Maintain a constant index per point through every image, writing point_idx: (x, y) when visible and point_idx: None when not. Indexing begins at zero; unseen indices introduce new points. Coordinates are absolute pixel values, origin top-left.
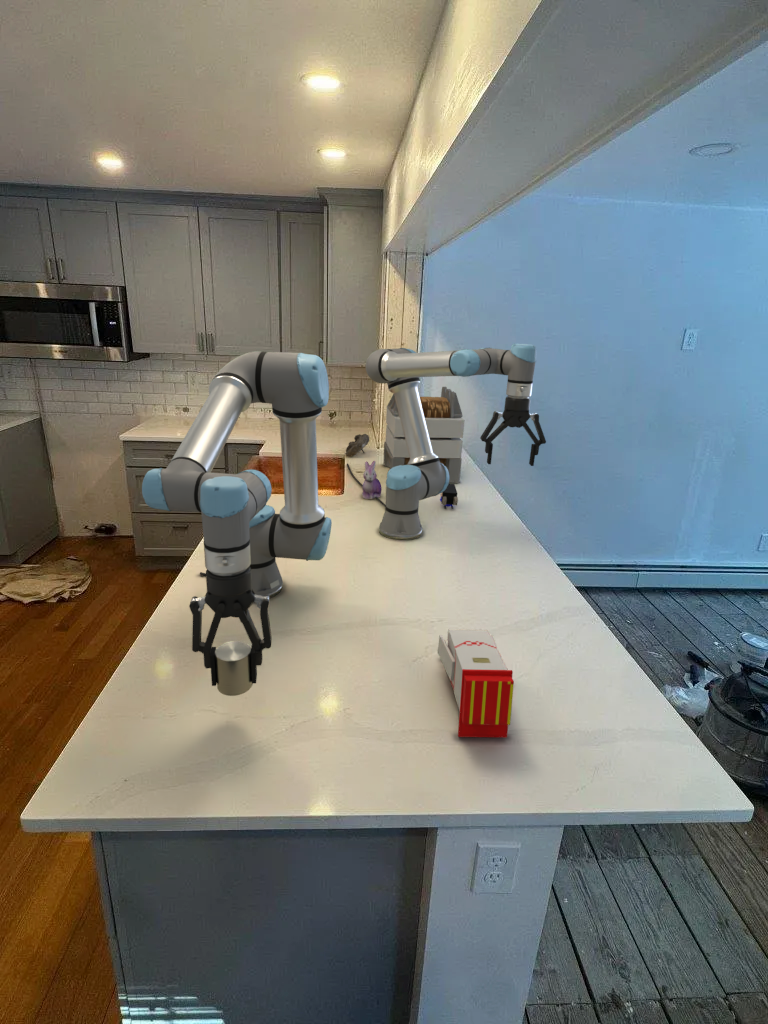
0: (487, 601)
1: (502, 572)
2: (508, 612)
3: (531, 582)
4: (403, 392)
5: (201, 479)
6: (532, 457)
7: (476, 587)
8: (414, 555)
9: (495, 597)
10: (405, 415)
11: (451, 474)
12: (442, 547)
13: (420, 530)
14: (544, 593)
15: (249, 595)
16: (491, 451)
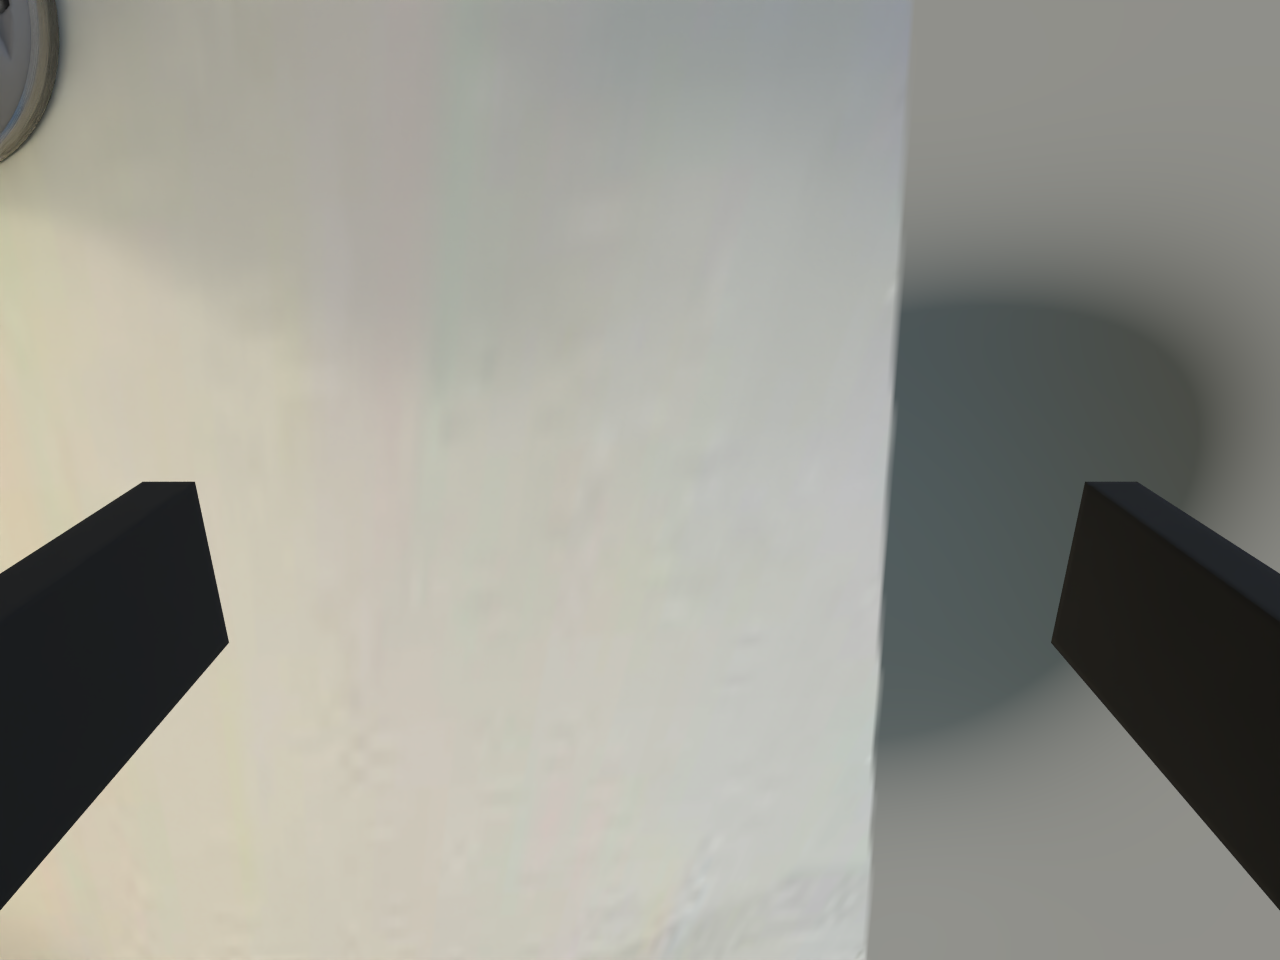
0: (474, 853)
1: (592, 599)
2: (548, 917)
3: (719, 690)
4: None
5: None
6: (1157, 765)
7: (437, 751)
8: (80, 423)
9: (514, 823)
10: None
11: None
12: (246, 279)
13: (20, 71)
14: (747, 781)
15: None
16: (29, 853)
